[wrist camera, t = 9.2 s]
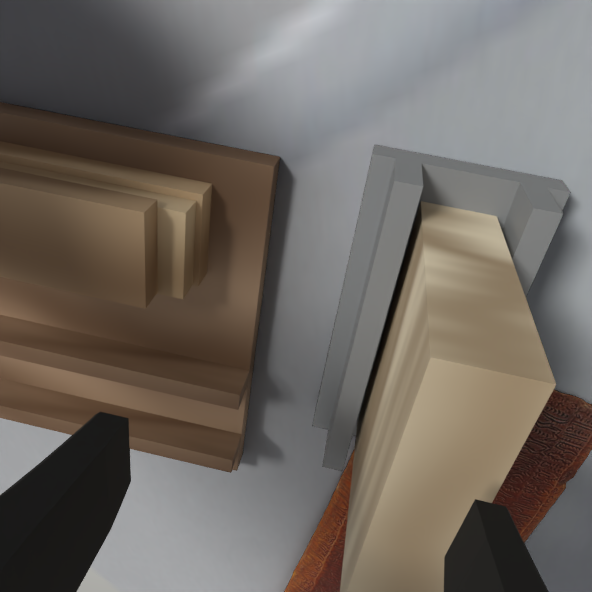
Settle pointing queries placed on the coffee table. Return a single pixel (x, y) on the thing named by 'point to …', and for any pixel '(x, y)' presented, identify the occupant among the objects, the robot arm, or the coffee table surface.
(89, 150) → the walnut rack
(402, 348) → the birch panel
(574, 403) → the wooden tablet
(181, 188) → the offcut stack
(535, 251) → the grey channel block
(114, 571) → the coffee table surface
